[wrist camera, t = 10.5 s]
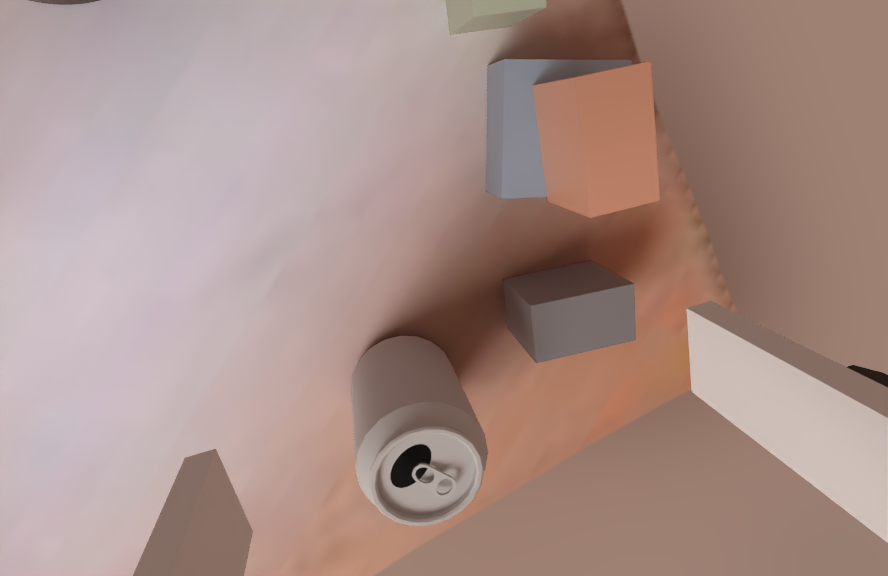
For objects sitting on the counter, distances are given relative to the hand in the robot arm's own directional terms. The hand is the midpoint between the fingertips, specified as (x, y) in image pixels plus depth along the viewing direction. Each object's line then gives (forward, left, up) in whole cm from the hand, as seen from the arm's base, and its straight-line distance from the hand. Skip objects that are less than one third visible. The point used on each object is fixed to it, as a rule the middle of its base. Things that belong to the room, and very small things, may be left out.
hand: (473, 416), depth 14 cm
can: (+10, -1, -23) cm, 25 cm away
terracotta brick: (-5, +12, -19) cm, 23 cm away
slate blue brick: (-5, +12, -23) cm, 27 cm away
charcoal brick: (+6, +11, -23) cm, 26 cm away
